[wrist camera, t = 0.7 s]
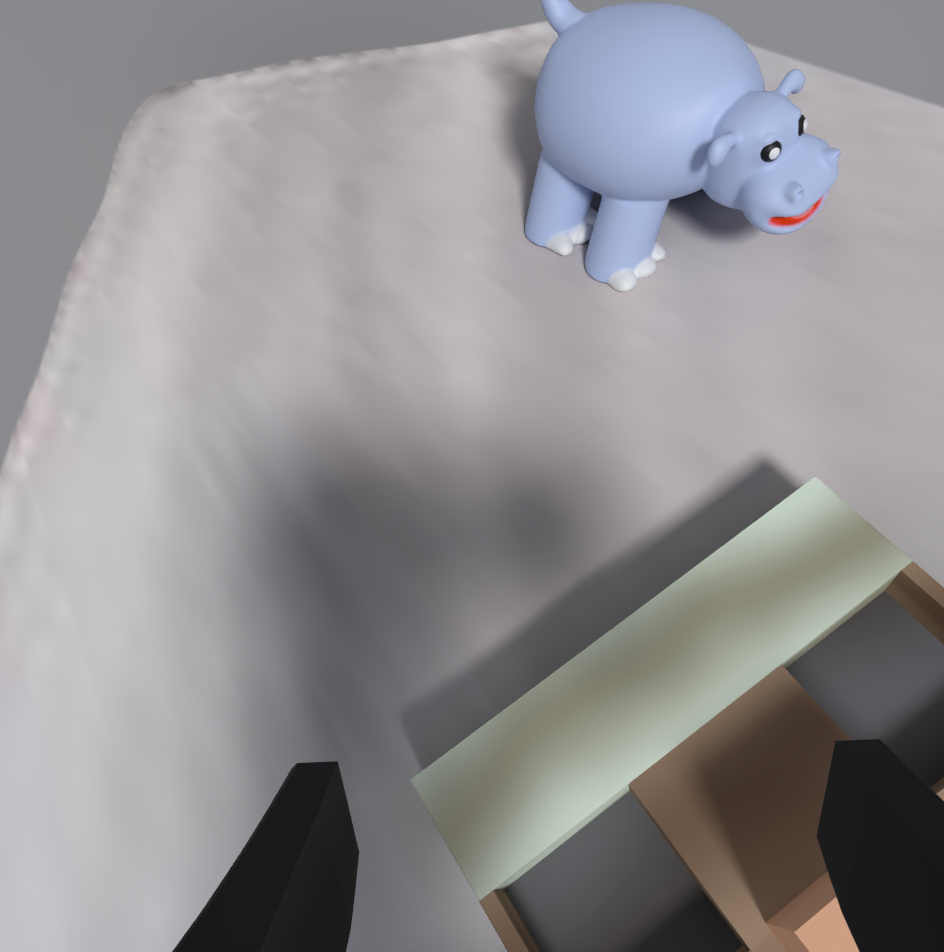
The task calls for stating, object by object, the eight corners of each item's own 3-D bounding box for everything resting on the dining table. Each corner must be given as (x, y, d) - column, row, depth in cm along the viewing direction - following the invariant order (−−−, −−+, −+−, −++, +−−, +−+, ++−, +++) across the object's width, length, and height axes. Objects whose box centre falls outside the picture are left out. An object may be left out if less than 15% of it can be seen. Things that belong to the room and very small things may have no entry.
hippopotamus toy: (722, 355, 32) (749, 172, 24) (483, 217, 39) (440, 40, 31) (871, 206, 34) (942, -9, 26) (619, 101, 41) (613, -94, 33)
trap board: (1264, 926, 20) (1340, 931, 17) (776, 1384, 17) (794, 1454, 15) (802, 508, 28) (815, 476, 25) (429, 788, 26) (410, 779, 23)
